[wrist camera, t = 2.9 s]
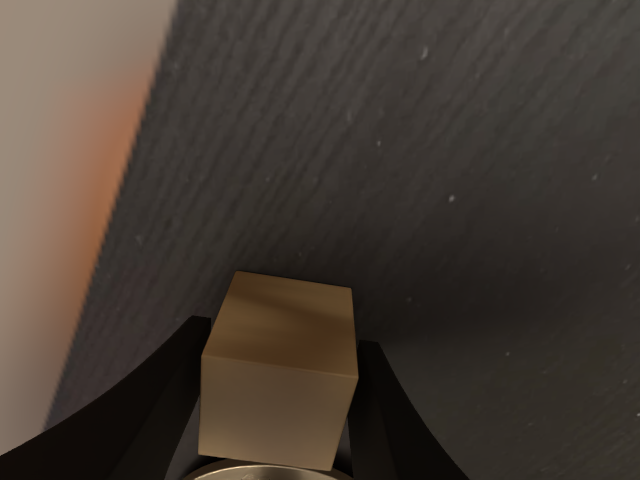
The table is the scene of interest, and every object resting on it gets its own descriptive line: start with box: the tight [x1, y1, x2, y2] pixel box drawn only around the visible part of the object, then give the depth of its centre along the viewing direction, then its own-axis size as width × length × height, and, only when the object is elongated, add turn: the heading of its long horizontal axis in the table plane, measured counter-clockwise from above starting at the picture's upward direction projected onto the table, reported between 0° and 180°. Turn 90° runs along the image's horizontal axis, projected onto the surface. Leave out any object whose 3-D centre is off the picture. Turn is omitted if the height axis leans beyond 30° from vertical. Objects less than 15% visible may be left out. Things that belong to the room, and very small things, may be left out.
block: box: [198, 271, 359, 471], centre depth 12 cm, size 4×4×4 cm
